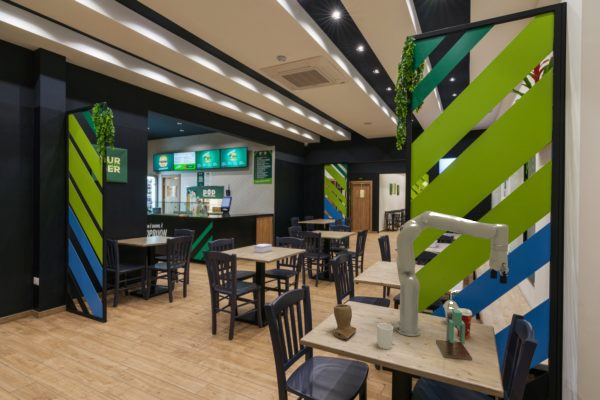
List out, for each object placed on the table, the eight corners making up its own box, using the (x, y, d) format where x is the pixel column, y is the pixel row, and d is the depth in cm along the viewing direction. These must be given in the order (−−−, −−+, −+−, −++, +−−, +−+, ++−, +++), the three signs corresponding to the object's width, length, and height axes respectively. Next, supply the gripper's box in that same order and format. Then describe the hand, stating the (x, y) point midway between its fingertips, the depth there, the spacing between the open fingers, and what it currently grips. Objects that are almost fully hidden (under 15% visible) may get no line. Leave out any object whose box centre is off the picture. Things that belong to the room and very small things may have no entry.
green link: (450, 342, 150) (451, 312, 149) (448, 338, 153) (449, 309, 153) (464, 344, 148) (465, 313, 148) (461, 340, 152) (462, 310, 152)
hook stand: (444, 358, 148) (445, 324, 148) (435, 342, 165) (436, 310, 165) (472, 361, 146) (473, 326, 146) (461, 344, 163) (462, 312, 162)
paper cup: (473, 340, 167) (474, 313, 167) (457, 338, 169) (458, 312, 169) (469, 334, 175) (469, 308, 175) (453, 332, 176) (454, 307, 176)
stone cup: (339, 326, 183) (339, 300, 183) (358, 331, 177) (359, 304, 176) (326, 336, 170) (327, 307, 170) (347, 342, 164) (347, 312, 164)
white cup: (383, 351, 155) (383, 330, 154) (373, 344, 162) (373, 324, 162) (396, 348, 158) (397, 328, 158) (386, 341, 165) (386, 322, 165)
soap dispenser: (443, 320, 194) (443, 287, 193) (459, 323, 190) (460, 289, 189) (442, 325, 186) (443, 290, 186) (459, 328, 182) (460, 293, 182)
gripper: (483, 245, 176) (482, 276, 176) (500, 250, 159) (499, 285, 159) (498, 245, 175) (497, 276, 176) (516, 251, 158) (515, 286, 158)
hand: (498, 280), depth 167 cm, fingers open, 9 cm apart
